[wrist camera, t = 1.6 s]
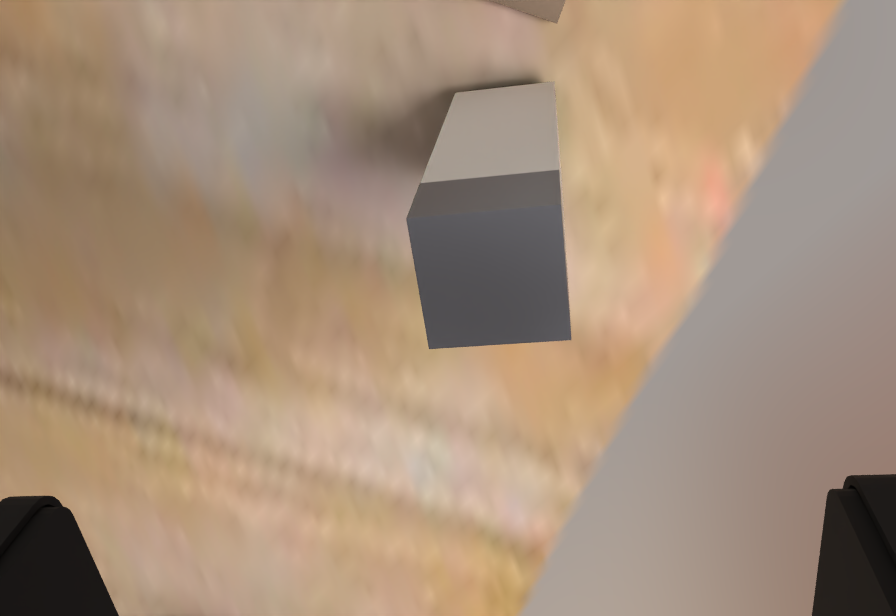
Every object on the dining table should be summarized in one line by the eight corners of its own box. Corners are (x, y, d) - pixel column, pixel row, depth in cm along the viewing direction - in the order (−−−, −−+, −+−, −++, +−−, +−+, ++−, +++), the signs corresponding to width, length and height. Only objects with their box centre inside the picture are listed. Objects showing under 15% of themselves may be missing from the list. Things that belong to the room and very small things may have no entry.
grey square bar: (459, 83, 25) (406, 218, 16) (553, 72, 25) (560, 204, 15) (470, 173, 27) (428, 348, 17) (561, 164, 26) (571, 339, 17)
